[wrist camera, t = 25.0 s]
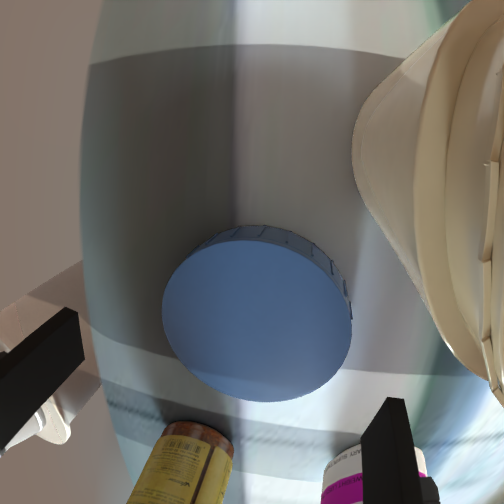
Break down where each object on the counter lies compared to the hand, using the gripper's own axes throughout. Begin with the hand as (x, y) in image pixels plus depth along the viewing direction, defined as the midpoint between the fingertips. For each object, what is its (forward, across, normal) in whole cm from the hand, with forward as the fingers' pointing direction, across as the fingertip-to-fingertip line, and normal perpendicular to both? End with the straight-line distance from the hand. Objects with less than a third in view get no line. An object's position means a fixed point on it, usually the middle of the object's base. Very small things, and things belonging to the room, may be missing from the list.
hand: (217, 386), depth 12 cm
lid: (+4, +1, 0) cm, 4 cm away
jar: (+6, +8, +10) cm, 14 cm away
